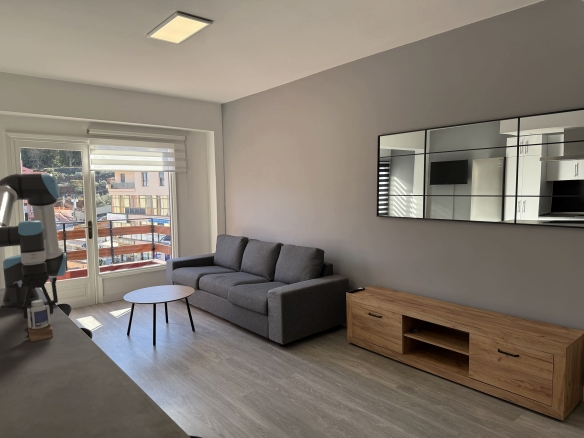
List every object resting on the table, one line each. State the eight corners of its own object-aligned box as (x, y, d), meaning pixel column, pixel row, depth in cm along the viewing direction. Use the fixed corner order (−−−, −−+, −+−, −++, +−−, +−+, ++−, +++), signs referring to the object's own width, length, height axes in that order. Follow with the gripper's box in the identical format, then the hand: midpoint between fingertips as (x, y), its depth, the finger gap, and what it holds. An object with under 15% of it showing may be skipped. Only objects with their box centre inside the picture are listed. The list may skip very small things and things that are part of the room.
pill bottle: (51, 324, 152) (49, 298, 152) (41, 329, 147) (39, 303, 146) (38, 324, 153) (36, 299, 152) (27, 329, 148) (25, 303, 147)
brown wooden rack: (28, 327, 160) (27, 319, 160) (48, 323, 164) (47, 315, 164) (30, 341, 143) (29, 333, 143) (52, 337, 147) (52, 329, 147)
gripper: (3, 268, 140) (9, 333, 142) (63, 260, 150) (69, 321, 152) (3, 265, 146) (9, 327, 148) (61, 258, 156) (66, 316, 158)
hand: (39, 324), depth 150 cm, fingers closed on pill bottle, 5 cm apart
